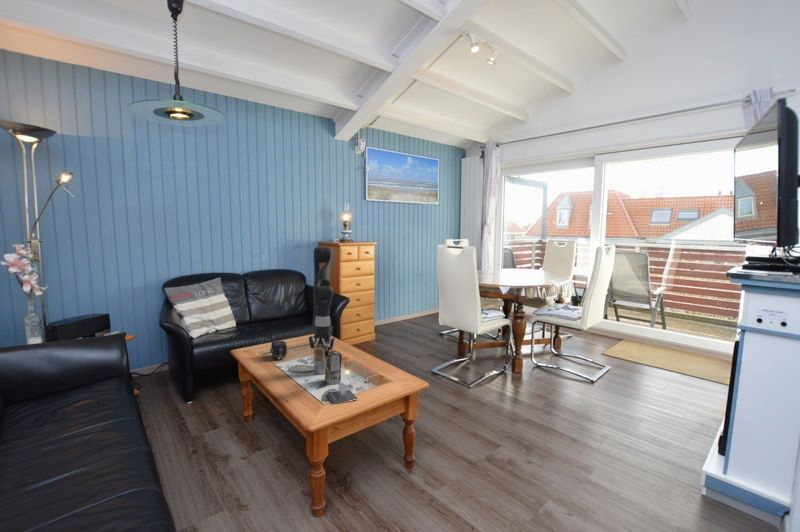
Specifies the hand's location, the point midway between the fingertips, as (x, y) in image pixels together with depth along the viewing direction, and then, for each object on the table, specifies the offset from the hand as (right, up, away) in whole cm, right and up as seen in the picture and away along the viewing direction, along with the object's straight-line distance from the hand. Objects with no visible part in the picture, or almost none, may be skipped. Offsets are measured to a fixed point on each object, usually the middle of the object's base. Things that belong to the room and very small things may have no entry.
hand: (321, 356), depth 189 cm
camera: (-41, -15, +55) cm, 70 cm away
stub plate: (+12, -18, -9) cm, 24 cm away
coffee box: (+3, -18, +14) cm, 23 cm away
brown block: (0, -1, 0) cm, 1 cm away
